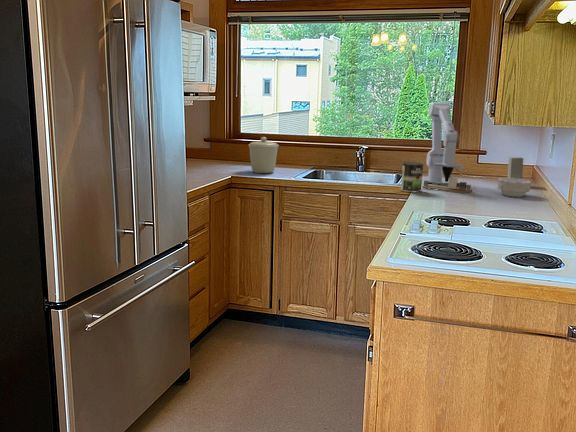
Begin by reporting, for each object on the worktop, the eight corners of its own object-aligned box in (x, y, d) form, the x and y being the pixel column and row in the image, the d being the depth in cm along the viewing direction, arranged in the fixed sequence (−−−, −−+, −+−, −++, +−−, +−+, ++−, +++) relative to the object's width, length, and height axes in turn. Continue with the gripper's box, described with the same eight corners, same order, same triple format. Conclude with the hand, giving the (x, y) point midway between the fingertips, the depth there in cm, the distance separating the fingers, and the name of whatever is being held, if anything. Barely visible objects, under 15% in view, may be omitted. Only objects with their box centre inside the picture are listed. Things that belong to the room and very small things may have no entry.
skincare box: (521, 187, 301) (525, 158, 297) (508, 186, 302) (511, 157, 299) (518, 184, 309) (522, 156, 305) (505, 183, 310) (508, 155, 307)
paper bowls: (532, 195, 279) (534, 179, 277) (525, 199, 266) (527, 183, 264) (500, 191, 287) (502, 176, 285) (493, 195, 275) (495, 179, 273)
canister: (265, 169, 340) (266, 135, 335) (284, 173, 327) (285, 137, 322) (241, 171, 329) (242, 136, 324) (260, 175, 315) (260, 138, 311)
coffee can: (425, 192, 279) (427, 164, 276) (408, 192, 275) (410, 164, 272) (413, 188, 289) (415, 161, 285) (396, 189, 285) (398, 162, 282)
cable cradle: (425, 185, 297) (426, 177, 296) (471, 190, 286) (472, 181, 285) (421, 188, 288) (421, 179, 287) (468, 193, 278) (469, 184, 277)
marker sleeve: (449, 187, 288) (450, 176, 287) (457, 187, 286) (458, 176, 285) (448, 188, 285) (449, 176, 284) (455, 188, 283) (457, 177, 282)
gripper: (433, 155, 283) (430, 181, 286) (462, 157, 277) (459, 184, 280) (436, 153, 289) (434, 179, 292) (464, 156, 283) (462, 182, 286)
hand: (446, 181), depth 287 cm, fingers closed
